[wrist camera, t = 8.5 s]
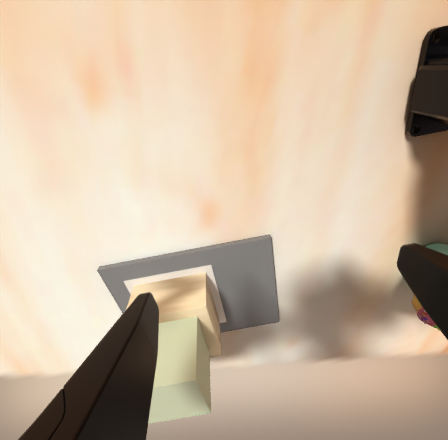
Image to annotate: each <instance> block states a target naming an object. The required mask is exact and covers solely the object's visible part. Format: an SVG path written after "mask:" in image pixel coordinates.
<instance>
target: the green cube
mask: <svg viewBox="0 0 448 440" xmlns="http://www.w3.org/2000/svg"><path fill="white" fill-rule="evenodd" d="M209 413H211V397H210V356H209V348H208V345H207V343H206V340H205V337H204V334H203V331H202V329H201V326H200V323H199V320H198V317H192V318H186V319H181V320H175V321H169V322H164V323H159V334H158V356H157V364H156V371H155V378H154V385H153V392H152V399H151V406H150V414H149V421H148V424H149V423H155V422H161V421H167V420H173V419H179V418H185V417H191V416H197V415H203V414H209Z"/></svg>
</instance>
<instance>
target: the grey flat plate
mask: <svg viewBox="0 0 448 440" xmlns="http://www.w3.org/2000/svg"><path fill="white" fill-rule="evenodd" d="M97 271H98V273H99V274H100V276H101V278H102V279H103V281H104V283H105V284H106V286H107V288H108V289H109V291H110V293H111V294H112V296H113V298H114V299H115V301H116V303H117V304H118V306H119V308H120V309H121V311H122V313H124V312H125V311H126V308H127V305H128V302H129V299H130V296H131V293H132V289H133V286H135V285H140V284H146V283H151V282H157V281H162V280H167V279H173V278H178V277H184V276H189V275H194V274H200V273H205V272H206V276H207V279H208V282H209V286H210V289H211V293H212V296H213V299H214V303H215V306H216V310H217V313H218V316H219V323H220V332H226V331H231V330H237V329H243V328H248V327H254V326H259V325H265V324H271V323H276V322H279V314H278V303H277V293H276V283H275V273H274V262H273V252H272V242H271V236H270V235H265V236H259V237H254V238H249V239H243V240H238V241H233V242H227V243H222V244H217V245H212V246H206V247H201V248H196V249H190V250H185V251H180V252H174V253H169V254H164V255H159V256H153V257H148V258H143V259H137V260H132V261H127V262H121V263H116V264H111V265H106V266H100V267H99V268H98V270H97Z"/></svg>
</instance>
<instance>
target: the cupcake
mask: <svg viewBox="0 0 448 440" xmlns="http://www.w3.org/2000/svg"><path fill="white" fill-rule="evenodd" d="M425 247H427V248H430V249H432V250H435V251H438V252H440V253H443V254H446V255H448V245H446V244H442V243H436V244H430V245H427V246H425ZM412 304H413V306H414V308H415V309H416V311H417V316H418V317H419V319H420V320H421V321H423V322H424V323H425V324H428V325H430V326H433V327H434V328H437V329H438V330H439V328H438V327H437V325H436V324H435V323H434V322H433V320H432V319H431V318H430V316H429V315H428V314H427V313H426V311H425V310H424V308H423V307H422V306H421V304H420V303H419V301H418V300H417V298H416V296H415V295H414V299H413V300H412Z"/></svg>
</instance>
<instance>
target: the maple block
mask: <svg viewBox="0 0 448 440" xmlns="http://www.w3.org/2000/svg"><path fill="white" fill-rule="evenodd" d="M147 292H151V293H152V295H153V297H154V299H155V301H156V303H157V305H158V308H159V323H164V322H169V321H175V320H181V319H186V318H192V317H198V320H199V323H200V326H201V329H202V331H203V334H204V337H205V340H206V343H207V345H208V348H209V356H210V357H212V356H218V355H222V352H221V337H220V323H219V316H218V313H217V310H216V306H215V303H214V299H213V296H212V293H211V289H210V286H209V282H208V279H207V276H206V272H205V273H200V274H194V275H189V276H184V277H178V278H173V279H167V280H162V281H157V282H151V283H146V284H140V285H135V286H133V289H132V293H131V296H130V299H129V302H128V305H127V308H128V307H129V306H130V304H131V303H132V302H133V301H134V300H135V298H136V297H137V296H138V295H139V294H141V293H147ZM127 308H126V309H127Z"/></svg>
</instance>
